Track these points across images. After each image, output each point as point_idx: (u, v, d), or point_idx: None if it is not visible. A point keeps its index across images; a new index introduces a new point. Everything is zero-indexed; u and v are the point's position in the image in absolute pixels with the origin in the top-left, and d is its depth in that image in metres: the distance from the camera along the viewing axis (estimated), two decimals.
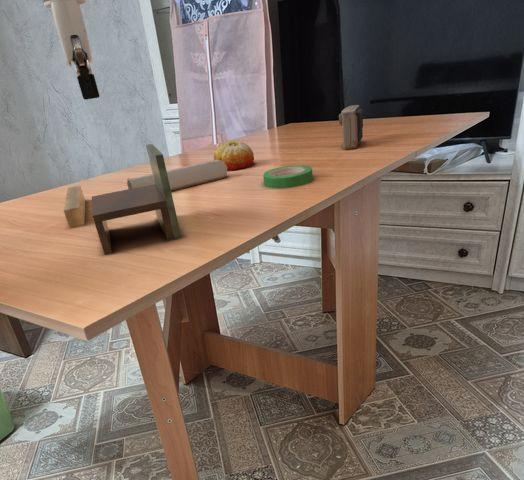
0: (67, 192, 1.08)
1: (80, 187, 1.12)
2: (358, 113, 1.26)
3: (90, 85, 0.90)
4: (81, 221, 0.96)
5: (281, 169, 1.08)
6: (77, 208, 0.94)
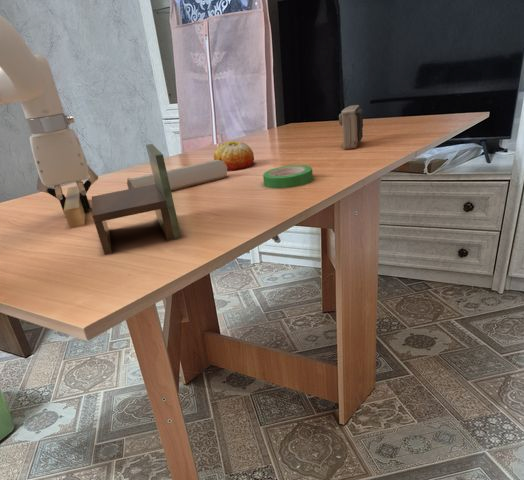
0: (67, 192, 1.08)
1: None
2: (358, 113, 1.26)
3: (62, 207, 1.04)
4: (81, 221, 0.96)
5: (281, 169, 1.08)
6: (77, 208, 0.94)
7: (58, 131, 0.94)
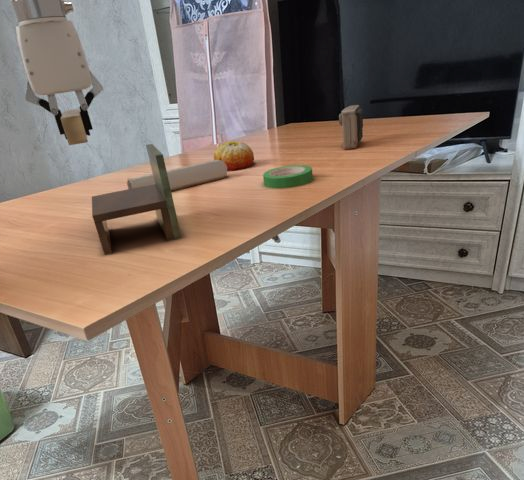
0: None
1: None
2: (358, 113, 1.26)
3: None
4: (83, 134, 0.75)
5: (281, 169, 1.08)
6: (78, 116, 0.74)
7: (53, 18, 0.74)
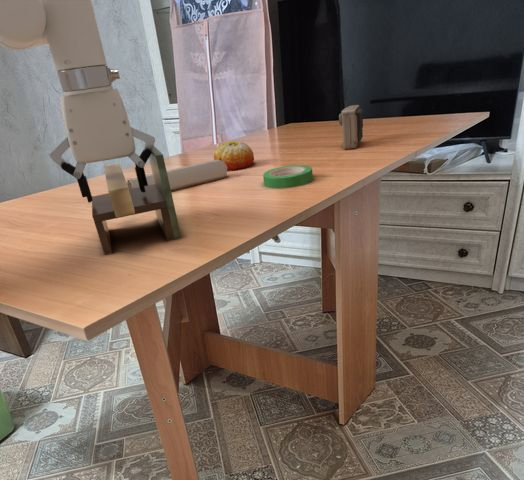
0: (105, 171, 0.85)
1: (120, 166, 0.88)
2: (358, 113, 1.26)
3: (80, 189, 0.79)
4: (130, 206, 0.72)
5: (281, 169, 1.08)
6: (126, 188, 0.70)
7: (99, 88, 0.70)
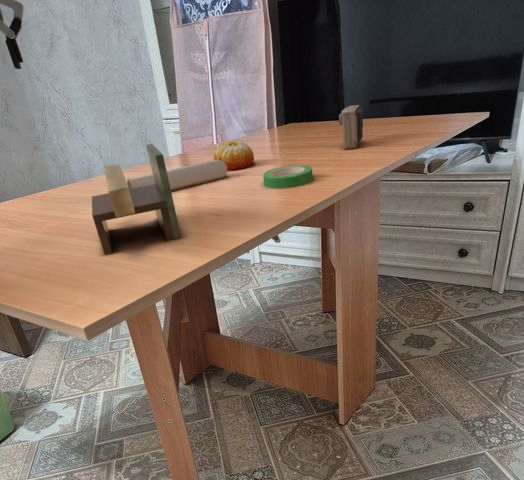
0: (105, 171, 0.85)
1: (120, 166, 0.88)
2: (358, 113, 1.26)
3: None
4: (130, 206, 0.72)
5: (281, 169, 1.08)
6: (126, 188, 0.70)
7: None
